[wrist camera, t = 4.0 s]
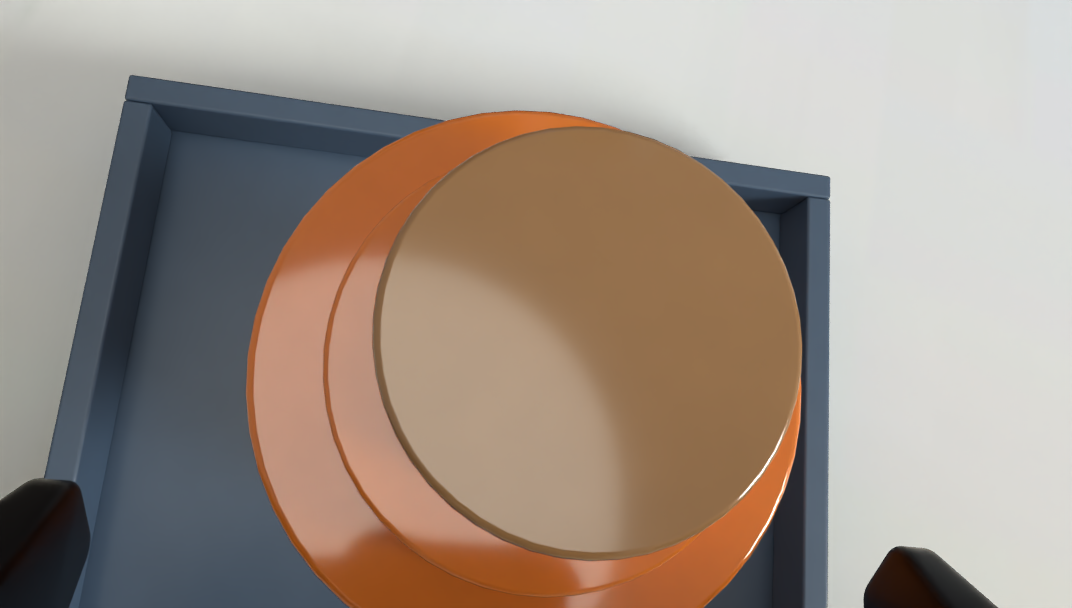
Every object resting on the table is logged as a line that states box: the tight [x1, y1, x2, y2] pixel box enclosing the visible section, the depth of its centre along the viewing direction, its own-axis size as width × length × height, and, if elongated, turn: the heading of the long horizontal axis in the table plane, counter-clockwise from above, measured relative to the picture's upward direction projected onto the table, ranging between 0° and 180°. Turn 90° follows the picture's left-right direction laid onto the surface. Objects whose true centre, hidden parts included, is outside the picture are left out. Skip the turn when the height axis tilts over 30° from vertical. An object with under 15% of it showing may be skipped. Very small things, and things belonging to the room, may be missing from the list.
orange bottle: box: [245, 111, 802, 608], centre depth 12 cm, size 6×6×13 cm
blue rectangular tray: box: [44, 75, 830, 608], centre depth 17 cm, size 21×16×2 cm
